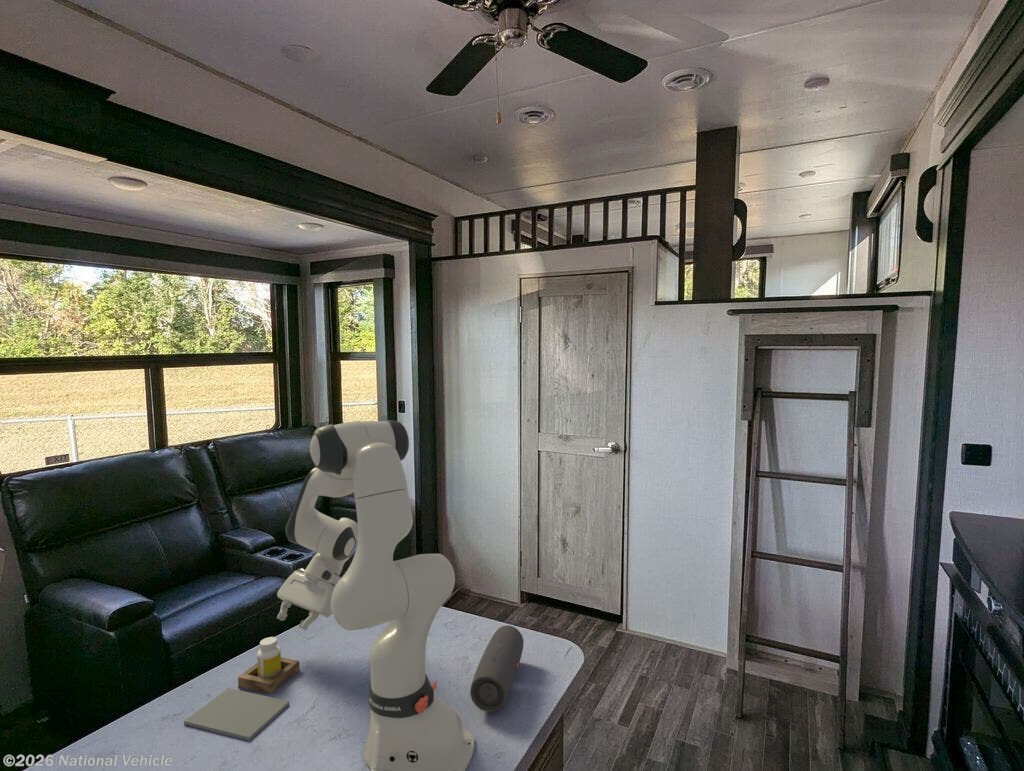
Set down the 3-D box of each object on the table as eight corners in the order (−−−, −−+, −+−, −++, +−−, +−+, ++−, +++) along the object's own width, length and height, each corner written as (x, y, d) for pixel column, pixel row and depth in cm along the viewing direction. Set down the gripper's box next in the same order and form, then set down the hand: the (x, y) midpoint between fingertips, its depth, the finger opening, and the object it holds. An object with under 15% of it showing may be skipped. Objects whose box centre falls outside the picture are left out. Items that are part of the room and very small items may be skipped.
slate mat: (289, 704, 120) (289, 701, 120) (249, 740, 108) (249, 737, 108) (228, 691, 125) (228, 688, 125) (184, 724, 114) (184, 721, 114)
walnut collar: (299, 670, 133) (299, 660, 133) (271, 694, 124) (270, 683, 124) (268, 664, 136) (268, 654, 136) (238, 686, 127) (237, 677, 127)
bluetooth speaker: (508, 720, 114) (508, 676, 113) (468, 715, 116) (467, 672, 115) (526, 661, 136) (525, 624, 136) (492, 658, 138) (491, 621, 137)
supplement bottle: (286, 673, 132) (284, 636, 132) (270, 686, 127) (269, 648, 126) (268, 670, 133) (267, 634, 133) (252, 683, 128) (251, 645, 128)
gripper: (290, 562, 146) (259, 609, 139) (338, 577, 136) (307, 629, 128) (304, 571, 150) (275, 618, 143) (352, 587, 140) (322, 638, 132)
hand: (290, 624), depth 135 cm, fingers open, 8 cm apart
